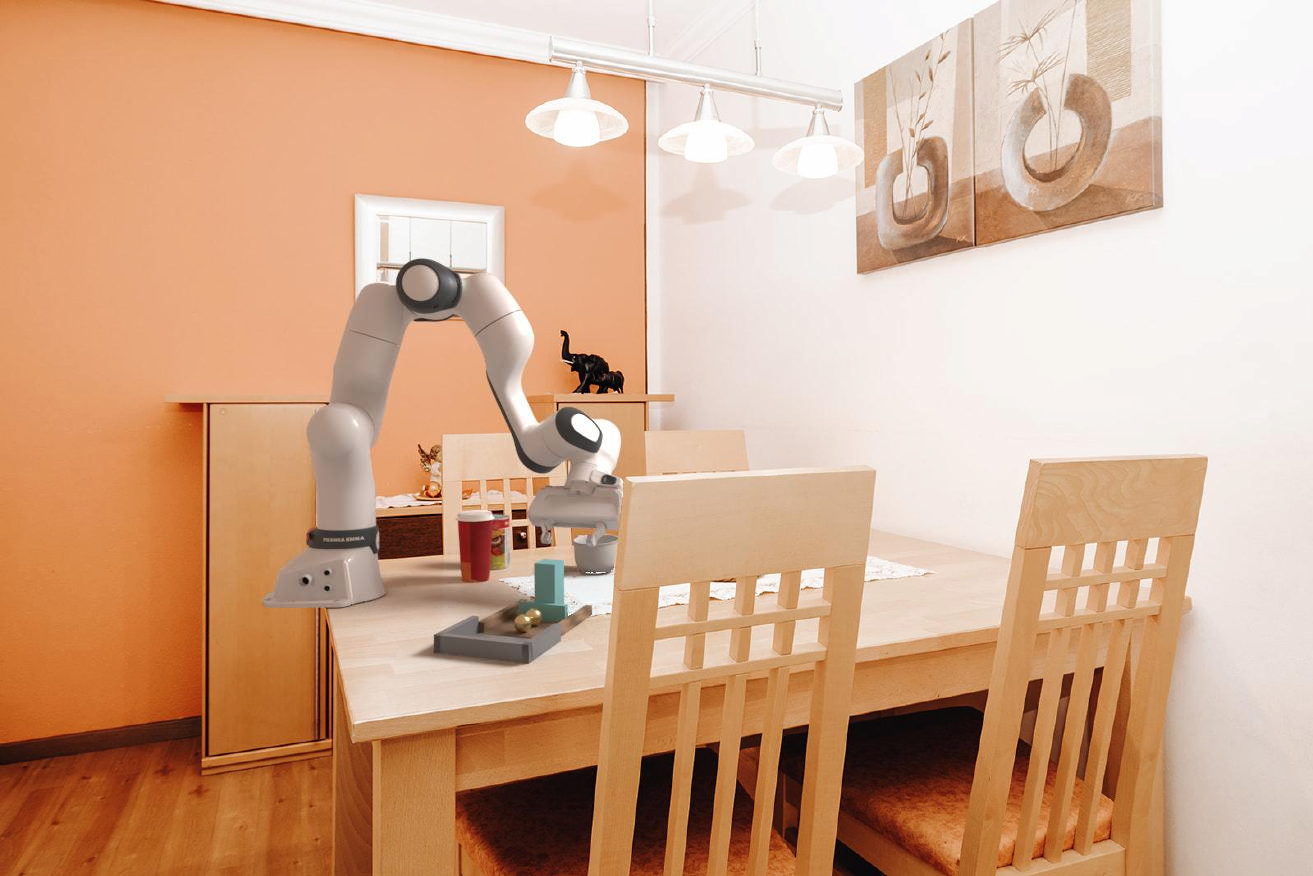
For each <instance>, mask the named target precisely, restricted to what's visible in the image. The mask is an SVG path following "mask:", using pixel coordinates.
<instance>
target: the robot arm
mask: <svg viewBox="0 0 1313 876" xmlns="http://www.w3.org/2000/svg"><path fill="white" fill-rule="evenodd" d="M454 316H458V317H460V318H461V319H462V320H463V321H464V323H465V324H466V326H467V327H468V328H469V330H470V332H471V334H472V335H473V337H474V339H475V341H476V342H477V344H478V346H479V348H480V351H481V353H482V355H483V359H484V362H485V368H486V369H485V375H486V380H487V382H488V386H489V388H490V391H491V392H492V395H493V396H494V397H493V398H494V400H495V401H496V403H497V406H498V408H499V409H500V412H501V414H502V416H503V419H504V421H505V423H506V425H507V427H508V429H509V430H508V431H509V432H510V434H511V436H512V440H513V444H514V447H515V451H516V454H517V457H518V459H519V461H520V462H521V464H522V465H523V466H524V467H526V468H527V469H528V470H530V471H532V472H533V473H536V474H549V473H550V472H552V471H553V470H555V469H556V468H557V467H559V466H560V465H561V464H563V463H564V462H565V461H568V462H569V463H570V468H569V471H568V474H567V477H566V480H565V482H564V485H545V486H544V487H541V488H540V489H538V490H537V492H536V493H535V496H534V498H533V499H532V502H531V503H530V505H529V507H528V510H527V513H526V515H527V518H528V520H529V522H530V523H531V525H532V526H533V527H540V528H541V532H542V534H541V536H540V541H541V543H542V544H545V545H550V544H551V541H552V540H553V535H552V534H551V532H549V531H551V529H552V528H563V529H565V528H566V529H568V528H569V529H581V530H582V529H585V530H594V531H593V532H592V533H591V534H589V533H588V534H586V535H587V539H586V544H587V546H594V547H595V546H596V542H597V540H598V539H599V538H601V537H602V536H603V535H604V534H606V531H620V530H619V522H620V513H621V505H622V497H623V483H624V484H625V482H624V481H623V479H622V478H621V477H619V476H616V475H612V473H613V472H614V470H615V469H616V467H617V463H618V460H619V456H620V452H621V447H622V437H621V433H620V430H619V428H618V427H617V426H616V424H614V423H613V422H611V421H609V420H607V419H605V418H604V419H603V418H592V417H590V416H588V414H586V412H584V411H582V410H581V409H578V408H576V407H573V406H565V407H562V408H561V409H559V410H557V411H556V412H553V413H552V414H551V415H549V416H547V417H546V418H545V419H543V420H542V421H540V422H538V421H537V419H536V417H535V415H534V413H533V411H532V408H531V407H530V404H529V402H528V400H527V397H526V396H525V393H524V391H523V387H522V378H523V372H524V370H525V367H526V365H527V363H528V361H529V360H530V358H531V355H532V352H533V350H534V347H535V334H534V330H533V328H532V325H531V323H530V322H529V320H528V318H527V316H526V315H525V313H524V311H523V310H522V308H521V307H520V305H519V304H518V302H517V301H516V299H515V298H514V297H513V295H512V294H511V293H510V291H509V290H508V288H507V287H506V286H505V285H504V284H503V283H502V281H501V280H499V278H498V277H497V276H496V275H494V274H492V273H491V272H484V271H481V272H475V273H473V274H470V275H469V276H467V277H464V278H462V277H461V276H460V274H459V273H458V272H456V271H454V270H452V269H450V268H449V267H447V266H446V265H444V264H442V263H440V262H438V261H436V260H433V259H431V258H430V259H429V258H415V259H412V260H409V261H407V262H406V263H405V264H404V265H403V266H401V268H400V269H399V270H398V273H397V275H396V279H395V284H388V283H384V282H373V283H369V284H366V285H364V286H363V288H362V289H361V290H360V292H359V294H358V295H357V296H356V300H355V301H354V304H353V305H352V307H351V309H350V312H349V315H348V317H347V320H346V324H345V326H344V330H343V332H342V333H343V334H342V336H341V340H340V343H339V346H338V350H337V353H336V357H335V360H334V363H333V367H332V373H333V375H332V383H331V391H330V396H329V402H328V404H326V405H324V406H321V408H319V409H318V410H317V411H315V413H314V414H313V415H312V416H311V418H310V420H309V421H308V423H307V426H306V439H307V442H308V444H309V451H310V458H311V466H312V471H313V477H314V483H315V490H316V491H315V492H316V526H311V527H309V529H308V530H307V532H306V534H305V541H306V542H305V543H306V546H307V547H305V548H304V549H303V550H301V551H300V552H299V553H298V554H297V555H295V556H294V557H293V558H291V559H290V560H289V561H288V562H287V563H285V564H284V565H283V566H281V568H280V570H279V571H278V573H277V577H276V579H275V586H274V589H273V590H271V591H269V592H268V593H266V594H265V595H264V596H263V598H262V600H261V601H262V602H261V603H262V604H261V605H262V606H263V607H265V608H268V609H269V608H272V609H273V608H274V609H275V608H276V609H277V608H280V609H281V608H282V609H284V608H285V609H286V608H287V609H288V608H289V609H292V608H293V609H294V608H298V609H299V608H303V609H304V608H305V609H306V608H308V609H309V608H311V609H312V608H317V609H318V608H344V607H345V608H346V607H349V606H351V604H352V605H355V604H359V603H362V602H363V601H364V602H367V601H372V600H375V599H378V598H380V597H382V596H384V595H385V594H386V590H385V586H384V583H383V579H382V576H381V569H380V564H379V555H378V553H379V550H380V531H379V525H378V524H377V501H376V500H377V499H376V497H377V494H376V489H377V487H376V483H375V478H374V473H373V472H374V471H373V466H372V458H371V450H372V448H374V446H375V445H376V444H377V442H378V440H379V436H380V432H381V429H382V424H383V419H384V415H385V412H386V407H387V401H388V398H389V397H388V395H389V390H390V389H389V388H390V386H391V385H390V384H391V381H392V378H393V374H394V370H395V368H396V364H397V361H398V357H399V354H400V351H401V346H402V343H403V340H404V336H405V333H406V331H407V328H408V326H410V323H412V321H413V322H417V323H418V322H419V323H420V322H423V323H424V322H428V323H429V322H431V323H434V322H435V323H437V322H444V321H447V320H450V319H451V318H453V317H454ZM364 602H363V603H364Z"/></svg>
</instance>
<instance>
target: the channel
mask: <svg viewBox="0 0 1313 876" xmlns="http://www.w3.org/2000/svg"><path fill="white" fill-rule="evenodd" d="M522 600H523V601H528V599H519V600H517V601H515V602H513V603H511V604H509V605H507V606H505V607H503V608H502V609H500V610H498V611H497V612H495V613H492V614H491V615H488V616H486V617H485V618H482V619H481V620H479V633H484V634H486V633H487V635H490V634H492V635H493V634H494V635H496V634H499V635H503V636H505V635H506V636H507V635H509V636H510V637H515V636H518V637H520V638H521V637H524V638H526V637H527V639H528V638H529V639H530V638H532V637H534V636H535V635H537V634H538V633H540V632H542V631H543V630H545V629H546V628H548V627H549V626H551V625H552V624H554V623H555V624H561V637H563V636H564V635H566V634H567V633H569V632H570V631H572V630H573V629H574V628H577V626H578V625H580V624H582V623H583V622H585V621H586V620H587V619H588V618H590V617H592V616H593V605H592V604H585V605H584V606H582V607H580V608H579V609H576V610H575V611H574V612H572V613H573V614H571V615H569V616H568V617H566V618H565V619H563V620H562V621H560V622H551V621H541V622H540V623H539V624H538V625H536V626H531V628H530V629H529V630H528V631H527V632H519V631H517V630H516V629H515V627H514V621H515V619H516V617H517V616H519V602H520V601H522ZM591 615H592V616H591ZM499 635H498V636H499ZM518 637H517V638H518Z"/></svg>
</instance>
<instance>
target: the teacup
mask: <svg viewBox="0 0 1313 876" xmlns="http://www.w3.org/2000/svg"><path fill="white" fill-rule="evenodd" d="M587 535H588V534H585V535H584V534H583V535H581V534H579V535H575V536H574V537H573V541H572V544H573V545H572V546H573V550H574V551H573V552H574V561H575V564H576V567H578V569H580V570H581V571H582V572H583V573H585V572H590V573H591V572H593V573H596V572H608V573H611V572H612V571H613V570H614V569H615V568H614V562H615V554H616V545H617V542H618V537H619V535H616V534H610V533H605V534H604V535H603V536H602V537H601V538H599V539H598V540H597V542H596V546H595V547H594V546H587V544H586V539H587ZM611 570H612V571H611ZM610 571H611V572H610Z"/></svg>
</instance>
